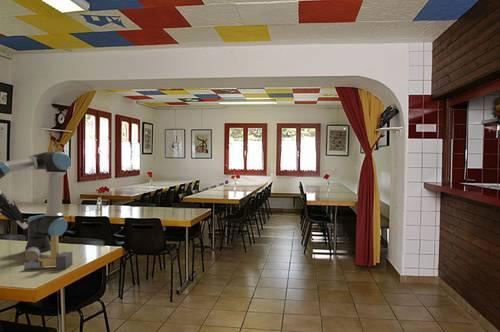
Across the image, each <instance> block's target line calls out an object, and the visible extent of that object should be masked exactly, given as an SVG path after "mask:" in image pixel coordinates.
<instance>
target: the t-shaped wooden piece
mask: <svg viewBox="0 0 500 332" xmlns="http://www.w3.org/2000/svg"><path fill="white" fill-rule="evenodd" d="M59 238H60V237H59V236H58V235H53V236H50V244H51V250H50V256H45V257H41V258H39V259H38V262H41V266H45V267H56V256H58V255H59V254H60V252H59V251H60V245H59V244H60V243H59V242H60V241H59V240H60V239H59Z"/></svg>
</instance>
